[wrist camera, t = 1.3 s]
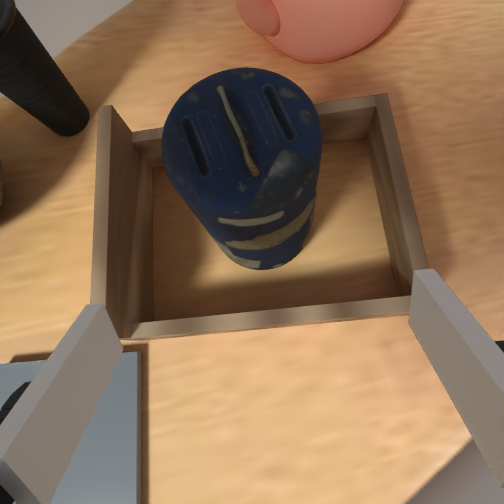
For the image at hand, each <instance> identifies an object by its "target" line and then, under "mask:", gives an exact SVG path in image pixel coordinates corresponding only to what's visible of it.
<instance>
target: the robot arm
mask: <svg viewBox="0 0 504 504" xmlns="http://www.w3.org/2000/svg"><path fill="white" fill-rule="evenodd" d="M408 323H409V325H410V327H411V329H412V330H413V332H414V334H415V336H416V338H417V339H418V341H419V343H420V345H421V346H422V348H423V350H424V352H425V354H426V355H427V357H428V359H429V361H430V362H431V364H432V366H433V368H434V370H435V371H436V373H437V375H438V377H439V378H440V380H441V382H442V384H443V386H444V387H445V389H446V391H447V393H448V394H449V396H450V398H451V400H452V402H453V403H454V405H455V407H456V409H457V411H458V412H459V414H460V416H461V418H462V419H463V421H464V423H465V425H466V427H467V428H468V430H469V432H470V434H471V435H472V437H473V439H474V441H475V442H476V444H477V446H478V448H479V450H480V451H481V453H482V455H483V457H484V459H485V460H486V462H487V464H488V466H489V467H490V469H491V471H492V473H493V475H494V476H495V478H496V480H497V481H498V483H499V485H500V487H501V488H504V341H493V339H492V338H491V337H490V336H489V335H488V333H487V332H486V331H485V330H484V329H483V327H482V326H481V325H480V324H479V323H478V321H477V320H476V319H475V318H474V317H473V315H472V314H471V313H470V312H469V311H468V309H467V308H466V307H465V306H464V304H463V303H462V302H461V301H460V300H459V298H458V297H457V296H456V295H455V294H454V292H453V291H452V290H451V289H450V288H449V286H448V285H447V284H446V283H445V282H444V280H443V279H442V278H441V277H440V276H439V274H438V273H437V272H436V271H435V270H434V268H433V269H423V270H414V273H413V283H412V292H411V302H410V312H409V321H408ZM122 351H123V347H122V344H121V342H120V340H119V338H118V335H117V333H116V331H115V329H114V326H113V324H112V322H111V320H110V318H109V315H108V313H107V311H106V309H105V306H104V304H103V303H99V304H90V305H86V306H85V308H84V309H83V310H82V312H81V313H80V315H79V316H78V317H77V319H76V320H75V322H74V323H73V324H72V326H71V327H70V328H69V330H68V331H67V333H66V334H65V335H64V337H63V338H62V340H61V341H60V342H59V344H58V345H57V347H56V348H55V349H54V351H53V352H52V354H51V355H50V356H49V358H48V359H47V361H46V362H45V363H44V365H43V366H42V368H41V369H40V370H39V372H38V373H37V375H36V376H35V377H34V379H33V380H32V381H30V382H25V383H24V384H23V385H21V386H20V387H19V388H18V389H17V390H16V391H15V392H13V393H12V394H11V395H10V397H9V398H8V399H7V401H6V402H5V403H4V405H3V406H2V407H1V411H0V504H13V503H14V501H15V502H16V503H17V504H50V502H51V500H52V498H53V496H54V494H55V492H56V490H57V488H58V485H59V483H60V481H61V479H62V477H63V475H64V473H65V471H66V469H67V467H68V465H69V462H70V460H71V458H72V456H73V454H74V452H75V450H76V448H77V446H78V444H79V441H80V439H81V437H82V435H83V433H84V431H85V429H86V427H87V425H88V423H89V420H90V418H91V416H92V414H93V412H94V410H95V408H96V406H97V404H98V402H99V400H100V397H101V395H102V393H103V391H104V389H105V387H106V385H107V383H108V381H109V379H110V376H111V374H112V372H113V370H114V368H115V366H116V364H117V362H118V360H119V358H120V355H121V353H122Z"/></svg>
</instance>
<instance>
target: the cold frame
mask: <svg viewBox="0 0 504 504" xmlns="http://www.w3.org/2000/svg"><path fill="white" fill-rule="evenodd" d="M313 105H314V107H315V109H316V111H317V113H318V116H319V119H320V123H321V128H322V144H324V143H331V142H338V141H345V140H352V139H359V138H366V143H367V147H368V152H369V157H370V162H371V167H372V172H373V177H374V181H375V186H376V191H377V196H378V201H379V206H380V211H381V215H382V220H383V225H384V230H385V235H386V240H387V245H388V249H389V254H390V259H391V264H392V269H393V274H394V278H395V283H396V288H397V293H398V297H392V298H382V299H372V300H362V301H352V302H342V303H332V304H322V305H312V306H302V307H292V308H283V309H273V310H263V311H253V312H243V313H233V314H223V315H213V316H203V317H193V318H183V319H173V320H164V321H154V322H153V218H152V168H155V167H162V166H164V163H163V159H162V152H161V138H162V132H163V128H164V127H162V128H156V129H149V130H142V131H136V132H132V131H131V130H130V129H129V127H128V126H127V125H126V123H125V122H124V121H123V119H122V118H121V117H120V115H119V114H118V113H117V111H116V110H115V109H114V107H113V106H112V105H108V106H101V107H99V110H98V133H97V157H96V180H95V203H94V227H93V250H92V273H91V297H90V304H99V303H103V304H104V306H105V309H106V311H107V313H108V315H109V318H110V320H111V322H112V324H113V326H114V329H115V331H116V333H117V335H118V338H119V340H139V341H143V340H153V339H163V338H174V337H184V336H195V335H205V334H216V333H226V332H236V331H247V330H257V329H268V328H278V327H288V326H299V325H309V324H320V323H330V322H340V321H351V320H361V319H372V318H382V317H393V316H403V315H409V312H410V302H411V292H412V283H413V273H414V270H423V269H429V268H428V264H427V259H426V255H425V251H424V247H423V243H422V238H421V234H420V230H419V226H418V221H417V217H416V213H415V209H414V204H413V200H412V196H411V192H410V187H409V183H408V179H407V175H406V171H405V166H404V162H403V158H402V154H401V149H400V145H399V141H398V137H397V132H396V128H395V124H394V120H393V115H392V111H391V107H390V103H389V98H388V94H387V93H385V94H379V95H372V96H365V97H359V98H352V99H346V100H339V101H333V102H326V103H320V104H313Z"/></svg>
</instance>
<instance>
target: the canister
mask: <svg viewBox="0 0 504 504" xmlns="http://www.w3.org/2000/svg"><path fill="white" fill-rule="evenodd" d="M161 152H162V159H163V163H164V167H165V170H166V172H167V174H168V177H169V178H170V180H171V182H172V184H173V185H174V187H175V189H176V190H177V191H178V192H179V194H180V195H181V197H182V198H183V199H184V201H185V202H186V203H187V204H188V206H189V207H190V208H191V210H192V211H193V212H194V214H195V215H196V216H197V217H198V219H199V220H200V221H201V223H202V224H203V225H204V227H205V228H206V230H207V231H208V233H209V234H210V235H211V236H212V238H213V239H214V240H215V242H216V243H217V244H218V245H219V247H220V248H221V249H222V251H223V252H224V253H225V254H226V255H227V256H228V257H229V258H230V259H231V260H232V261H234V262H235V263H237V264H239V265H241V266H243V267H246V268H249V269H255V270H268V269H273V268H277V267H280V266H282V265H284V264H286V263H288V262H289V261H291V260H292V259H293V258H295V257H296V256H297V255H298V253H299V252H300V251H301V250H302V249H303V247H304V245H305V244H306V241H307V239H308V236H309V233H310V228H311V222H312V220H313V214H314V207H315V200H316V197H317V194H316V186H317V179H318V173H319V165H320V159H321V153H322V128H321V123H320V119H319V116H318V113H317V111H316V109H315V107H314V105H313V103H312V101H311V100H310V98H309V97H308V96H307V95H306V93H305V92H304V91H303V90H302V89H301V88H300V87H299V86H297V85H296V84H295V83H294V82H292V81H291V80H289V79H287V78H286V77H284V76H282V75H280V74H277V73H275V72H272V71H268V70H264V69H258V68H248V67H245V68H236V69H229V70H225V71H221V72H218V73H215V74H213V75H210V76H208V77H207V78H205V79H203V80H201V81H199V82H198V83H196V84H195V85H193V86H192V87H191V88H190V89H189V90H187V91H186V92H185V93H184V94H183V95H182V96H181V97H180V98H179V99H178V100H177V102H176V103H175V105H174V106H173V108H172V109H171V111H170V113H169V115H168V117H167V120H166V122H165V125H164V128H163V132H162V138H161Z"/></svg>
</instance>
